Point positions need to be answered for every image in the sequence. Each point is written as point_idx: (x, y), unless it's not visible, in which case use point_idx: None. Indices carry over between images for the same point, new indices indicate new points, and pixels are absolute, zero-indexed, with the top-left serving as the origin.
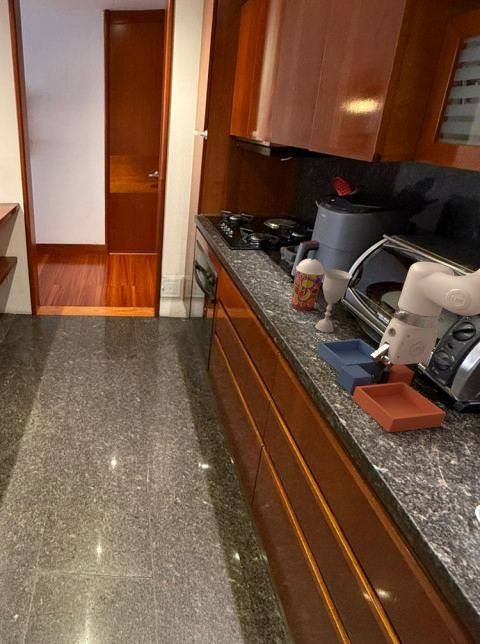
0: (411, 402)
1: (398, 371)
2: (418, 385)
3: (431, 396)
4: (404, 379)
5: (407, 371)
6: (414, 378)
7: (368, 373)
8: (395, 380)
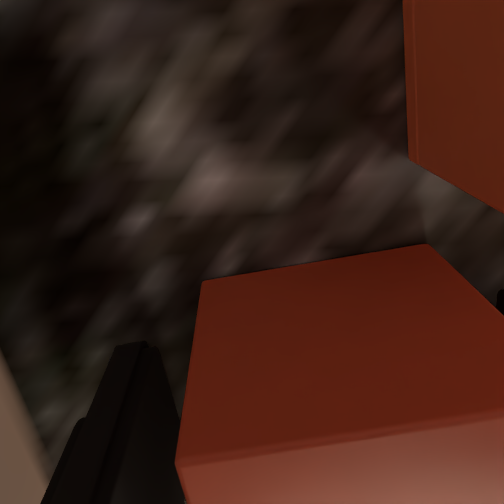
0: None
1: (494, 467)
2: (58, 321)
3: (14, 124)
4: (332, 335)
5: (312, 475)
6: (112, 384)
7: None
8: (491, 309)
